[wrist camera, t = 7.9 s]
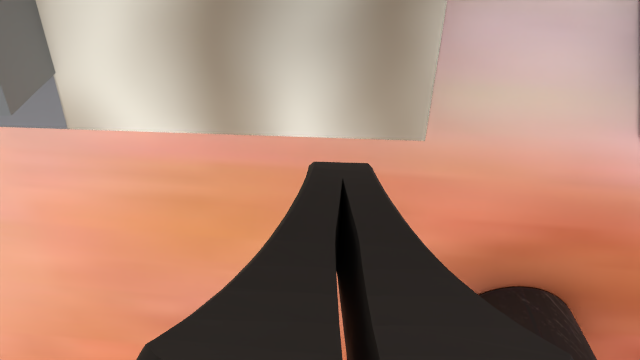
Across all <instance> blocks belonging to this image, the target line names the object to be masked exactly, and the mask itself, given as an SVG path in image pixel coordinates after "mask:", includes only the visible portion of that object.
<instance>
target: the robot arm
mask: <svg viewBox="0 0 640 360" xmlns="http://www.w3.org/2000/svg"><path fill="white" fill-rule="evenodd" d="M336 273H337V276H338V285H339V294H340V302H341V311H342V319H343V327H344V336H345V344H346V353H347V360H574V359H573V358H572V356H571V355H570V354H568V353H567V352H565V351H563V350H562V349H560V348H558V347H556V346H555V345H553V344H551V343H550V342H548V341H546V340H544V339H543V338H541V337H539V336H538V335H536V334H534V333H532V332H531V331H529V330H527V329H526V328H524V327H522V326H521V325H519V324H518V323H516V322H515V321H513V320H512V319H511V318H509V317H508V316H506V315H505V314H503V313H502V312H500V311H499V310H497V309H496V308H495V307H493V306H492V305H491V304H489V303H488V302H486V301H485V300H484V299H482V298H481V297H480V296H479V295H478V294H476V293H475V292H474V291H473V290H471V289H470V288H469V287H468V286H467V285H465V284H464V283H463V282H462V281H460V280H459V279H458V278H457V277H456V276H455V275H454V274H452V273H451V272H450V271H449V270H448V269H447V268H446V267H445V266H444V265H443V264H442V263H441V262H440V261H439V260H438V259H437V258H436V257H435V256H434V255H433V254H432V253H431V251H430V250H429V249H428V248H427V247H426V246H425V245H424V244H423V242H422V241H421V240H420V239H419V238H418V236H417V235H416V234H415V233H414V232H413V230H412V229H411V228H410V226H409V225H408V224H407V223H406V221H405V220H404V219H403V217H402V216H401V214H400V213H399V211H398V210H397V209H396V207H395V206H394V204H393V203H392V201H391V200H390V198H389V197H388V195H387V194H386V192H385V190H384V189H383V187H382V186H381V184H380V182H379V180H378V178H377V177H376V175H375V173H374V171H373V169H372V167H371V166H370V165H369V164H368V163H338V162H313V163H312V164H311V165H310V166H309V168H308V172H307V175H306V178H305V180H304V183H303V185H302V187H301V189H300V191H299V193H298V195H297V197H296V198H295V200H294V202H293V204H292V205H291V207H290V209H289V211H288V212H287V214H286V215H285V217H284V218H283V220H282V221H281V223H280V224H279V226H278V227H277V229H276V230H275V231H274V233H273V234H272V236H271V237H270V238H269V240H268V241H267V242H266V243H265V245H264V246H263V247H262V248H261V250H260V251H259V252H258V253H257V254H256V255H255V257H254V258H253V259H252V260H251V261H250V262H249V263H248V264H247V265H246V266H245V267H244V268H243V269H242V270H241V271H240V272H239V274H238V275H237V276H236V277H235V278H234V279H233V280H232V281H230V282H229V283H228V284H227V285H226V286H225V287H224V288H223V289H222V290H221V291H220V292H218V293H217V294H216V295H215V296H213V297H212V298H211V299H210V300H209V301H207V302H206V303H205V304H204V305H202V306H201V307H200V308H199V309H197V310H196V311H195V312H194V313H193V314H191V315H190V316H188V317H187V318H186V319H184V320H183V321H182V322H180V323H178V324H177V325H175V326H174V327H172V328H171V329H169V330H168V331H166V332H165V333H163V334H162V335H160V336H159V337H157V338H156V339H154V340H152V341H150V342H149V343H147V344H146V345H145V346H144V348H143V349H142V351H141V353H140V354H139V356H138V358H137V360H342V350H341V338H340V327H339V312H338V298H337V279H336Z"/></svg>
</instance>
